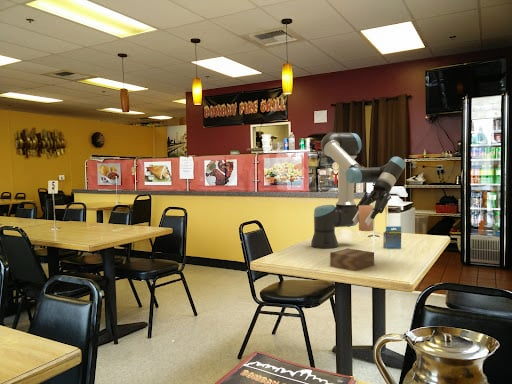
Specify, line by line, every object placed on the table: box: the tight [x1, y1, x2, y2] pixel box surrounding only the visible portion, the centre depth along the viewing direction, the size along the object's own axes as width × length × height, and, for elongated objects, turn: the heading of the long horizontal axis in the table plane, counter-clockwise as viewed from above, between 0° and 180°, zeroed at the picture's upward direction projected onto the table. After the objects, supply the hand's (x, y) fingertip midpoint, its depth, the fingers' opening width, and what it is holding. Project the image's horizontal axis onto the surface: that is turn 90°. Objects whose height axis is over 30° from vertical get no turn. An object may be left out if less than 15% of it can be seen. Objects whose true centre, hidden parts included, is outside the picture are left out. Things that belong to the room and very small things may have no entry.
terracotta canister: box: [358, 204, 374, 232], centre depth 186 cm, size 6×6×11 cm
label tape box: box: [383, 225, 402, 249], centre depth 230 cm, size 9×4×12 cm, turn 92°
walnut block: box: [329, 248, 375, 272], centre depth 188 cm, size 14×14×6 cm
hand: (360, 222), depth 184 cm, fingers closed on terracotta canister, 6 cm apart
